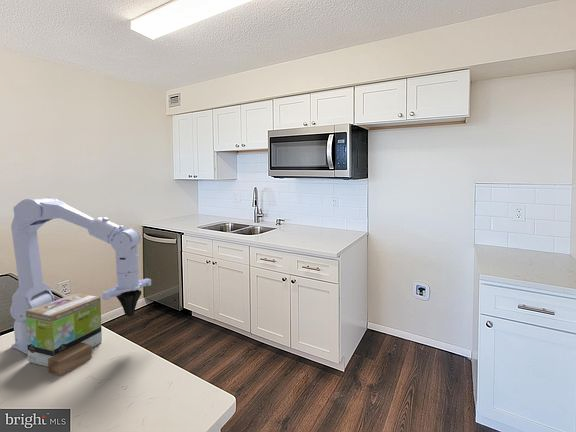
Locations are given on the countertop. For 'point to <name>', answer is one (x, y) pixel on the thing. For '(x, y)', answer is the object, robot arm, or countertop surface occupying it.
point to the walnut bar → (69, 358)
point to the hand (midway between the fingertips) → (129, 315)
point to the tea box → (62, 326)
